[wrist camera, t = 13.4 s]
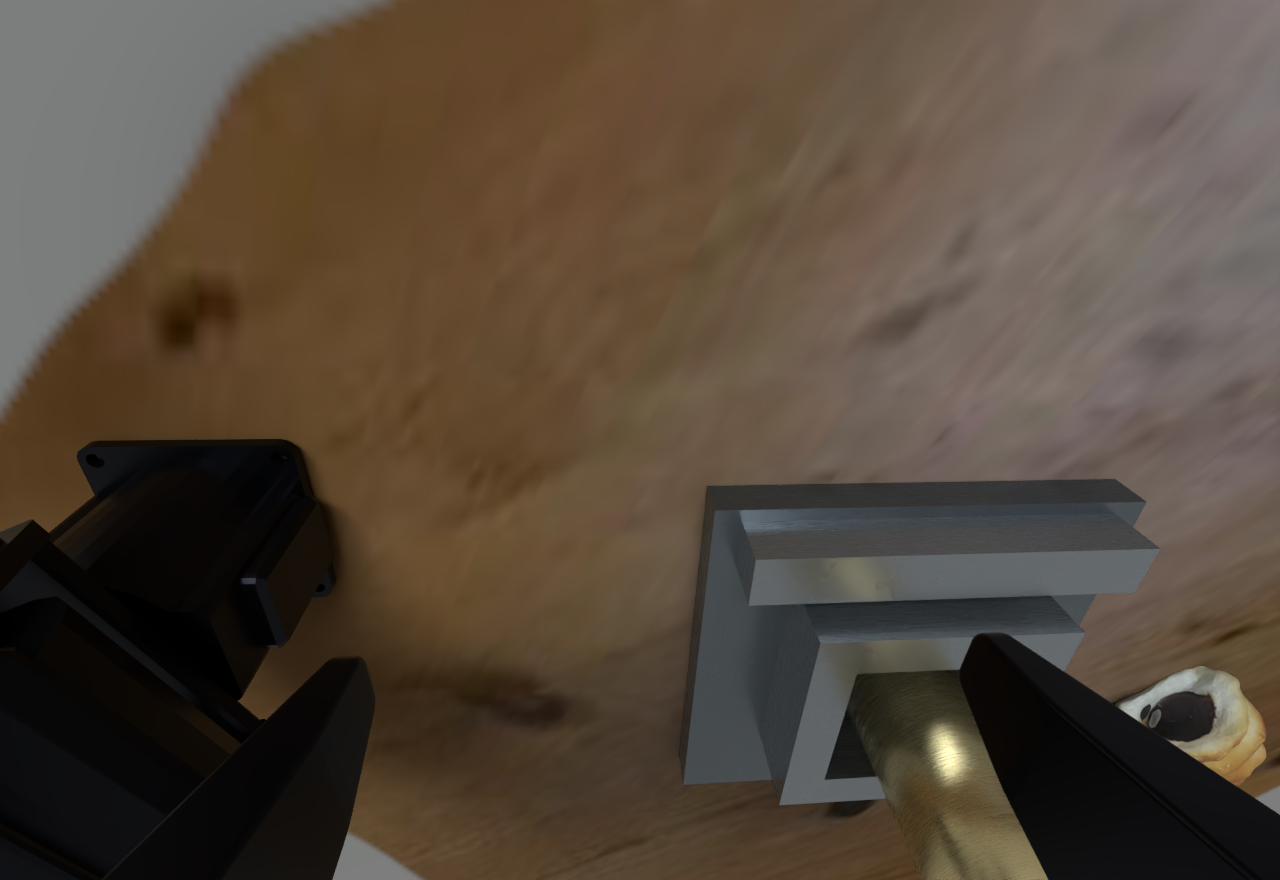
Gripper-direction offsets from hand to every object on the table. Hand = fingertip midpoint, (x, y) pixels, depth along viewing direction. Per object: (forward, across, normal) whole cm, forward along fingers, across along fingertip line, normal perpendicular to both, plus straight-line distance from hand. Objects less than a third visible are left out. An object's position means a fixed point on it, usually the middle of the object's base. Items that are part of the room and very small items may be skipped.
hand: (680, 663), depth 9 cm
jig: (+12, -11, +13) cm, 21 cm away
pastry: (+12, -29, +20) cm, 37 cm away
